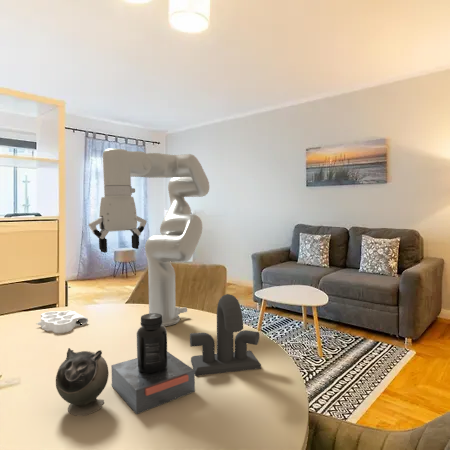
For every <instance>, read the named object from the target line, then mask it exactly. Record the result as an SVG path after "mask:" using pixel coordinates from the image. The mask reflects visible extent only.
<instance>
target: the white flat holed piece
mask: <svg viewBox="0 0 450 450" xmlns="http://www.w3.org/2000/svg"><path fill="white" fill-rule="evenodd" d="M77 320H78V321H79V322H80V323H82V325H81V326H84V325H86V324H87V323H88V322H89V319H88V317H85V316H84V315H82V314H80V313H78V312H77V311H75V310H65V311H57V310H54V311H46V312H43V313H41V314H40V320H39V321H38V322H37V323H36V325H38V326H40V329H43V331H47V332H52V333H53V334H63V333H64V334H65V333H68V332H71V331H72V330H73V328H75V326H76V327H78V326H79V327H80V323H79V322H78V321H77Z"/></svg>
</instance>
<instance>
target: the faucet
mask: <svg viewBox="0 0 450 450" xmlns="http://www.w3.org/2000/svg"><path fill="white" fill-rule="evenodd" d="M216 307H217V309H216V342H215V339H214V338H213V336H212V335H211V334H209V333H208V332H192V333H191V332H190V333H189V346H190V347H202V348H201V352H202V353H201V354H199V355H193V356H191V357H190V363H191V366H192V369H194V370H195V377H198V376H199V377H200V376H206V375H208V376H209V375H214V374H215V375H216V374H225V373H233V372H234V373H235V372H242V371H243V372H244V371H251V370H261V369H262V364H261V363H260V361H259V360H258V358H257V357H256V356H255V354H254V353H253V352H252V350H250V349H249V350H247V349H248V344H249V345H255V346H257V345H258V344H259V342H260V332H259V331H255V330H254V331H253V330H244V319H243V312H242V308H241V305H240V302H239V300H238V299H237V297H236V296H234V295H233V294H229V293H226V294H224V295H222V296H221V297H220V298H219V299H218V302H217V306H216ZM234 333H236V335H235V338H234ZM215 343H216V345H215ZM215 346H216V347H215Z"/></svg>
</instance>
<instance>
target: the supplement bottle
mask: <svg viewBox="0 0 450 450" xmlns="http://www.w3.org/2000/svg"><path fill="white" fill-rule="evenodd" d="M162 323H163V321H162V315H161V314H158V313H150V314H149V313H145V314H143V315H141V316H140V326H141V327H139V328H138V329H137V331H136V358H137V366H138V369H139V370H140V371H141V372H143V373H156V372H160V371H162V370H164V369H165V368H166V367H167V352H168V330H167V328H166V326H163V325H161V324H162Z"/></svg>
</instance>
